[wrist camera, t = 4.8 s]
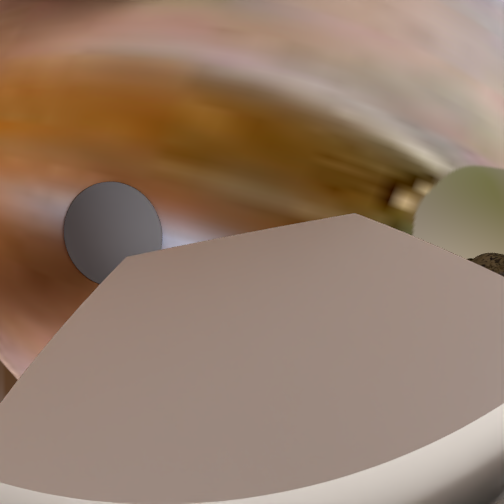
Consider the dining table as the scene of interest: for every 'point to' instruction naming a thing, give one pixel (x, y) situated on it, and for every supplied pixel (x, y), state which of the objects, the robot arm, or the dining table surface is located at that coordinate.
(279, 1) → the dining table surface
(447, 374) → the cream matte cube
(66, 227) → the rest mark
